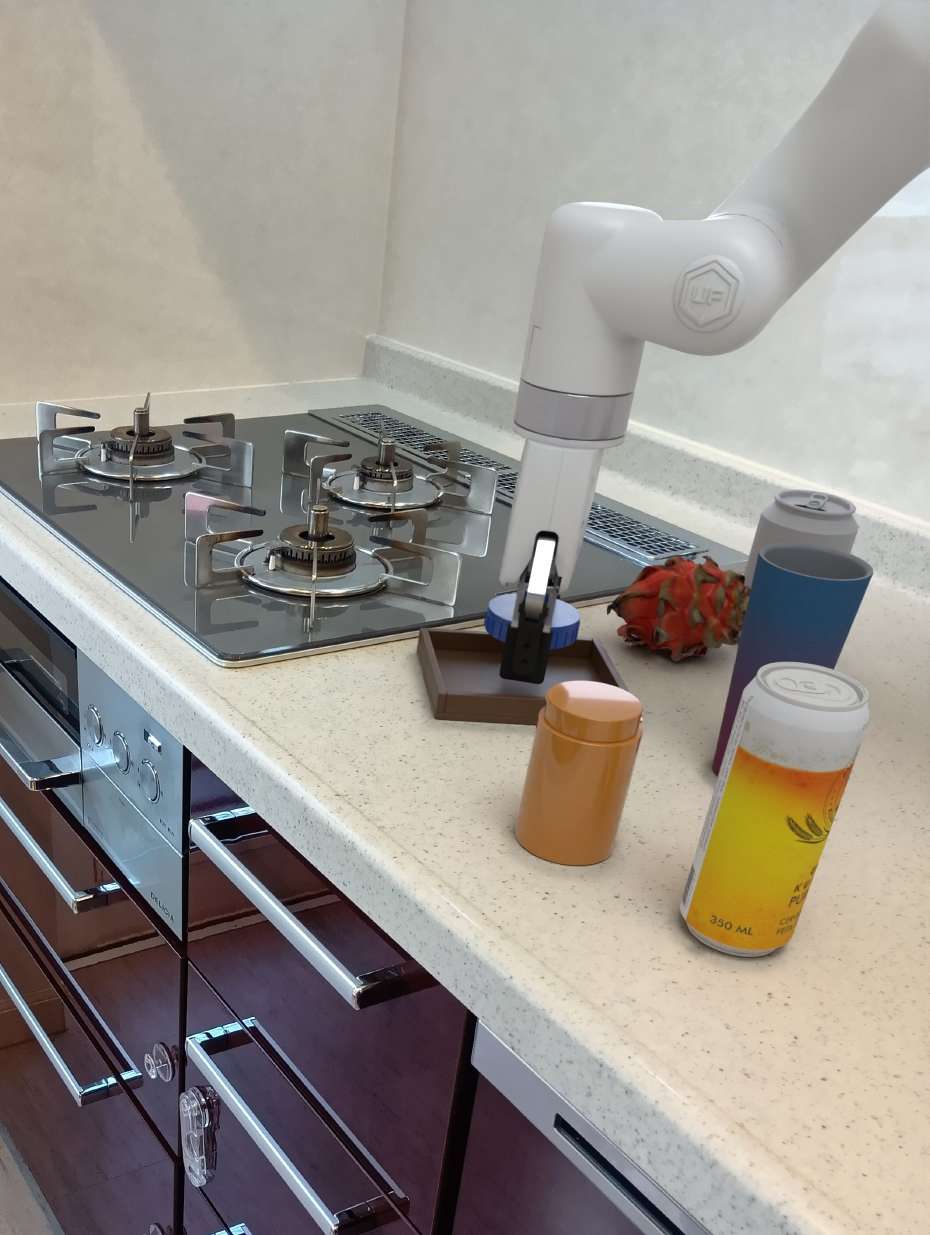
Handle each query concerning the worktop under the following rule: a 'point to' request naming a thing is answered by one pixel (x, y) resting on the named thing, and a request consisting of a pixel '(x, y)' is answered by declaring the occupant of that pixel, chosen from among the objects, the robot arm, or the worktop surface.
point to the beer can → (773, 806)
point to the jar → (579, 772)
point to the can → (804, 524)
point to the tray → (472, 684)
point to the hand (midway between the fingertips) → (525, 659)
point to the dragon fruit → (683, 607)
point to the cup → (794, 615)
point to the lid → (562, 621)
